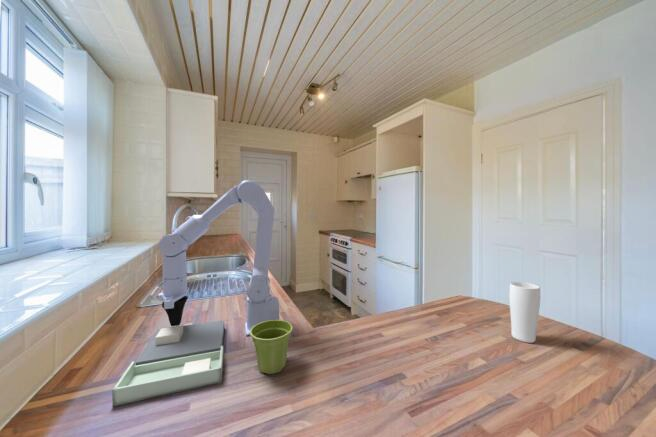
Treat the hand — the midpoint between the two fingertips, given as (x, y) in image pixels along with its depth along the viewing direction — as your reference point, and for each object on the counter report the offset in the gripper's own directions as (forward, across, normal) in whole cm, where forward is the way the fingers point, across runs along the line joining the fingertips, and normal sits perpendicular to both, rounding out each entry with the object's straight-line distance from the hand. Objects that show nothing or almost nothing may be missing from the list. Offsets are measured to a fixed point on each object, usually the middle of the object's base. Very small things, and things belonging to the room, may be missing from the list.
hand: (175, 324), depth 69 cm
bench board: (+3, +7, +4) cm, 9 cm away
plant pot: (+3, +23, +24) cm, 33 cm away
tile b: (+1, +6, 0) cm, 6 cm away
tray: (+3, +20, +4) cm, 21 cm away
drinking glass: (+3, +35, +91) cm, 97 cm away
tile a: (+1, +22, +8) cm, 23 cm away
